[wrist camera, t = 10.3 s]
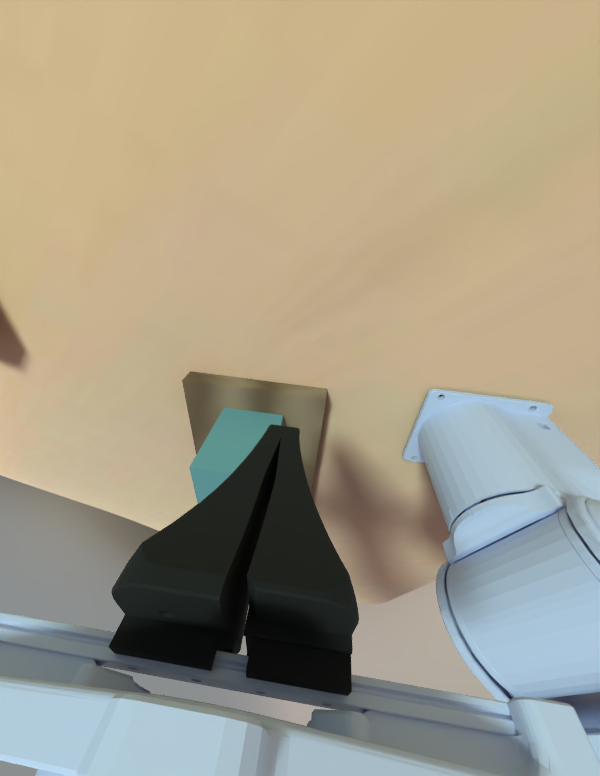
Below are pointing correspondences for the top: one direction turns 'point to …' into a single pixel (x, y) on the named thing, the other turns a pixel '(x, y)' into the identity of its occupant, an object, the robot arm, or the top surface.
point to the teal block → (228, 447)
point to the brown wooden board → (257, 408)
